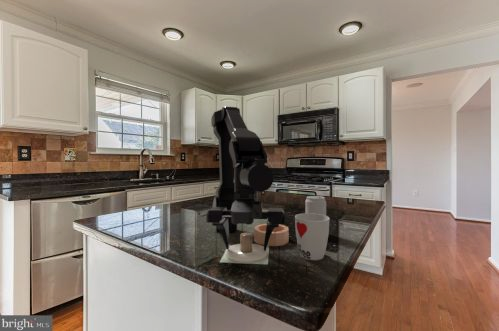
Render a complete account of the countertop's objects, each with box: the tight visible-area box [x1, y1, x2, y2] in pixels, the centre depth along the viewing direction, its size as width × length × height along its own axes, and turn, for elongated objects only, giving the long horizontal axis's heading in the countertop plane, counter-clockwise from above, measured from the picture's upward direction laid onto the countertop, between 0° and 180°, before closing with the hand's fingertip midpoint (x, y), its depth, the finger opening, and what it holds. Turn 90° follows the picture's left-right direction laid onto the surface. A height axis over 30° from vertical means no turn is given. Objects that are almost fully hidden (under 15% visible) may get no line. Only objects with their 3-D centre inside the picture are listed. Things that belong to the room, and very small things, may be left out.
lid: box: [224, 232, 267, 264], centre depth 60 cm, size 10×10×5 cm
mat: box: [219, 244, 270, 265], centre depth 60 cm, size 11×11×1 cm
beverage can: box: [304, 195, 327, 216], centre depth 77 cm, size 6×6×12 cm
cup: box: [294, 212, 331, 261], centre depth 58 cm, size 8×8×10 cm
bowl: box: [253, 223, 290, 247], centre depth 70 cm, size 10×10×4 cm
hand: (246, 249), depth 60 cm, fingers open, 9 cm apart
